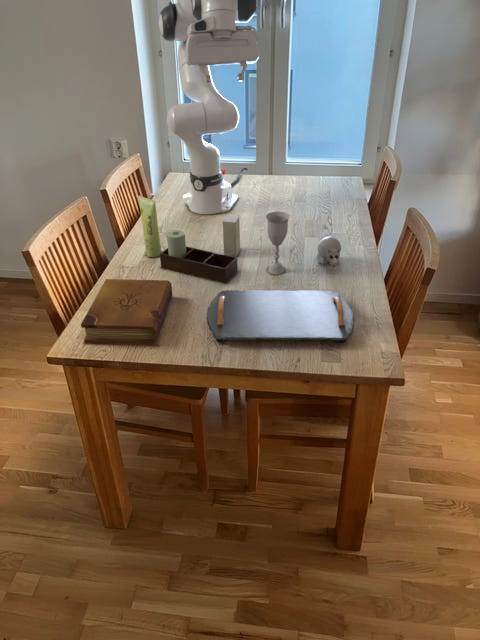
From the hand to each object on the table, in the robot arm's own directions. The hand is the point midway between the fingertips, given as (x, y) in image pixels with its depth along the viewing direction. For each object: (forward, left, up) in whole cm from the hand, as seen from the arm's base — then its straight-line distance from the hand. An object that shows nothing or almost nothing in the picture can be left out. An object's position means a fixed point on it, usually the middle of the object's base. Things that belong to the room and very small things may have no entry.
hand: (224, 81), depth 146 cm
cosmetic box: (+1, +2, -52) cm, 52 cm away
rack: (+16, -2, -52) cm, 55 cm away
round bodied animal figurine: (-4, +34, -52) cm, 62 cm away
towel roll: (+16, -10, -52) cm, 55 cm away
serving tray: (+32, +32, -52) cm, 69 cm away
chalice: (+6, +20, -52) cm, 56 cm away
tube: (+13, -21, -52) cm, 58 cm away
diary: (+48, -5, -52) cm, 71 cm away
